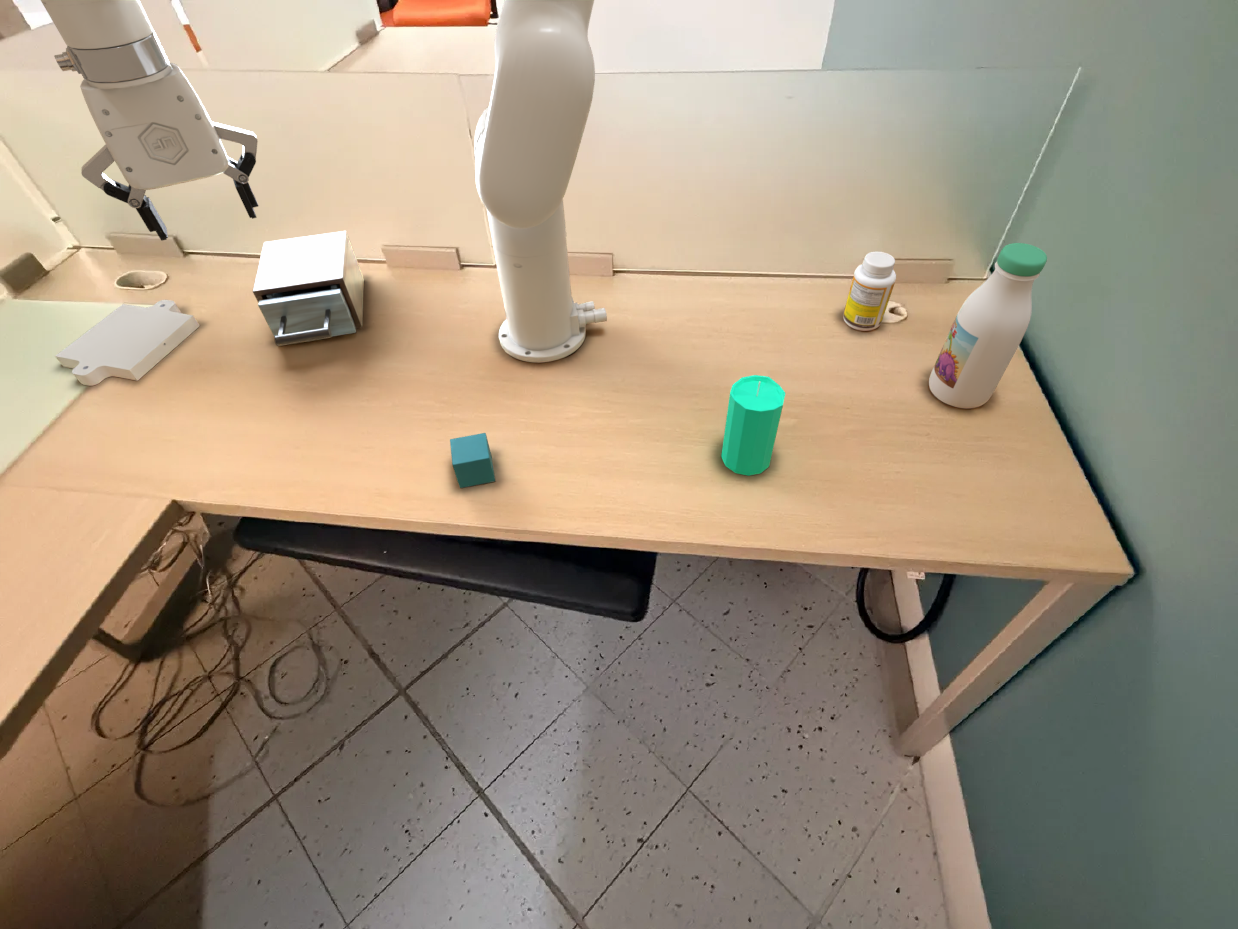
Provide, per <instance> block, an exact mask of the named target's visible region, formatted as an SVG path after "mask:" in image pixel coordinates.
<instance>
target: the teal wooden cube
mask: <svg viewBox="0 0 1238 929" xmlns="http://www.w3.org/2000/svg"><path fill="white" fill-rule="evenodd" d="M449 444H450V445H449V446H450V455H451V465H452V468H453V472H454V474H455V478H456V480H457V484H458V487H459V488H460V489H463V488H468V487H469V488H470V487H474V486H480V485H484V484H490V483H494V482H496V476H495V468H494V463H493V462H494V461H493V456H492V453H491V449H490V448H491V447H490V445H489V440H488V436H487V433H486V432H481V433H476V434H470V435H465V436H459V437H455V438H454V437H453V438H450V439H449Z"/></svg>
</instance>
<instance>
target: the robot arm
mask: <svg viewBox="0 0 1238 929" xmlns="http://www.w3.org/2000/svg"><path fill="white" fill-rule="evenodd" d="M40 2H41V3H42V6H44V9H45V10H46V12H47V14H48V16H49V18H50V19H51V21H52V23H53V24H54V26H55V28H56V30H57V32H58V33H59V35H60V36H61V39H62V40H63V42H64V43H65V45H66V47H65V51H63V52H62V53H60V54H54V55H53V57H54V59H55V61H56V63H57V65H58V67H59V68H60V70H61V71H62V72H68V71H72V72H77V74H78V75H81V76H82V78H83V80H82V81H81V83H80V86H79V87H80V90H81V93H82V96H83V98H84V102H85V104H86V106H87V109H88V111H89V113H90V115H91V118H92V120H93V122H94V124H95V126H96V128H97V130H98V132H99V134H100V136H101V138H102V140H103V142H104V143H105V144H104V145H103V146H102V147H101V148H100V149H99V150H98V151H97V152H96V153H95V154H93V156H91V158H90V159H88V160H87V161H86V162H85V163H84V164H83V165H82V166H81V173H80V174H81V176H82V177H83V178H84V179H86V180H87V181H88V182H90V183H91V184H93V185H94V186H95V187H97V188H98V189H100V190H102V191H103V192H104V194H106V195H107V196H109V197H110V198H111V197H112V198H113V199H116V200H119V201H121V202H123V203H125V204H127V205H128V206H129V207H130V208H132V209H135V210H136V211H137V213H138V215H139V217H140V218H141V220H142V222H143V223H144V225H145V227H146V228H147V230H148V232H150V233H153V232H155V233H156V234H157V236H158V238H159V239H160V241H162V242H163V241H166V240H167V239H169V235H168V229H167V228H168V227H167V226H166V224H165V223H164V221H163V219H162V217H161V216H160V214H159V212H158V210H157V208H156V207H155V205H154V203H153V202H152V200H151V199H150V197H149V196H148V197H147V195H146V191H151V190H152V191H153V190H158V189H163V188H166V187H170V186H171V187H173V186H175V185H179V184H186V183H189V182H194V181H198V180H203V179H207V178H211V177H214V176H218V175H221V174H224V175H225V176H227V177H230V178H231V179H232V181H233V185H234V188H235V189H236V192H237V194H238V196H239V198H240V200H241V202H242V205H243V206H244V209H245V211H246V213H247V215H248V217H249V219H257V213H256V211H255V209H254V208H257V207H259V202H258V200H257V198H256V196H255V193H254V192H253V189H252V187H251V184H250V183H249V180H250V176H251V174H252V171H253V169H254V168H255V166H256V164H257V151H258V142H259V141H258V137H257V135H256V133H255V132H254V131H250V130H247V129H243V128H240V127H235V126H231V125H227V124H223V123H219V122H216V121H213V120H212V119H211V118H210V115H209V113H208V112H207V109H206V107H205V106H204V104H203V103H202V100H201V99H200V97H199V95H198V94H197V92H196V90H195V89H194V87H193V85H192V84H191V83H190V81H189V79H188V77H186V75H185V74H184V72H183V71H182V69H181V68H180V67H179V66H178V64H177V63H173V62H170V61H169V59H168V56H167V55H166V53H165V50H164V48H163V46H162V45H161V42H160V39H159V38H158V36H157V33H156V32H155V30H154V28H153V26H152V24H151V21H150V20H149V18H148V15H147V13H146V11H145V9H144V6H143V5H142V3H141V1H140V0H40ZM594 3H595V0H503V4H502V8H501V10H500V15H499V19H498V22H497V25H496V29H495V34H494V64H495V65H494V66H495V67H494V73H493V74H494V76H493V81H492V87H491V93H490V99H489V105H488V106H487V107H486V108H485V109H484V110H483V112H482V113H481V115H480V116H479V118H478V121H477V123H476V127H475V131H474V140H473V155H474V156H473V157H474V172H475V174H474V175H475V177H474V178H475V185H476V190H477V194H478V196H479V199H480V200H481V203H482V204H483V207H485V209H486V214H487V220H488V225H489V226H488V227H489V232H490V237H491V242H492V243H491V244H492V248H493V254H494V260H495V265H496V270H497V276H498V281H499V286H500V292H501V296H502V303H503V308H504V313H505V319H504V320H503V321H502V323H501V325H500V327H499V329H498V340H499V344H500V346H501V349H503V351H504V352H505V353H506V354H508V355H509V356H511V357H512V358H514V359H516V360H520V361H523V362H528V363H549V362H553V361H558V360H561V359H564V358H566V357H568V356H569V355H571V354H573V353H574V352H576V351H577V350H579V348H580V347H581V346H582V345H583V343H584V341H585V340H586V335H587V332H586V331H587V330H586V327H587V324H597V323H603V322H607V321H608V315H607V310H606V308H605V307H601V308H596V307H595V303H594V301H593V300H592V301H586V302H582V303H578V302H575V301H574V299H573V298H574V297H573V296H572V295H573V294H572V285H571V274H570V264H569V262H570V261H569V251H568V241H567V226H566V216H565V215H566V214H565V205H564V197H565V195H566V192H567V189H568V187H569V183H570V180H571V177H572V174H573V170H574V167H575V163H576V161H577V160H576V159H577V156H578V152H579V150H580V146H581V143H582V140H583V135H584V132H585V128H586V125H587V121H588V118H589V115H590V110H591V107H592V102H593V98H594V92H595V82H596V67H595V58H594V55H593V54H594V53H593V50H592V47H591V45H590V41H589V37H588V35H589V27H590V22H591V17H592V12H593V8H594ZM222 140H224V141H229V142H233V143H238V144H240V145H242V152H241V154H240V157H239V159H238V160H235V159H234V158H231V157H229V156H228V155H227V152H226V149H225V147H224V144H223V142H222ZM114 162H115V164H116V166H117V168H118V170H119V171H120V173H121V175H122V176H123V178H124V180H125V181H126V183H127V184H128V185H125V184H123V183H121V182H119V181H116V180H114V179H111V178H110V177H108V176H107V174H105V173H104V172H105V171H106V170H107V169H108V168H109V167H110V166H111V165H112V164H113V163H114Z"/></svg>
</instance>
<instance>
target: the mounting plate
mask: <svg viewBox="0 0 1238 929" xmlns="http://www.w3.org/2000/svg"><path fill="white" fill-rule="evenodd" d="M200 326H201V325H200V323H199V322H198V320H197V319H196V317H195V315H194V314H187V313H182V312H181V309H180V308H179V307H178V304H177V303H176V302H175V301H174V300H172V299H161V300H158V301H157V302H156V303H154V304H153V305H151V306H147V307H145V306H139V305H132V304H128V303H127V304H126V303H122V304H120V306H117V308H116V309H114V310H113V311H112V312H110V313H109V314H107V315H106V316H105V317H103V318H102V319H101V320H99V321H98V322H97V323H96V324H95V325H93V326H92V327H91V328H89V329H88V330H87V331H86V332H84V333H83V334H81V335H80V336H79V337H77V338H76V339H74V341H72V342H71V343H70V344H68V345H67V346H65V348H63V349H62V350H60V351H59V352H57V354H55V355H54V357H55V359H56V360H57V361H58V362H59V363H60V365H61V366H62V367H63V368H69V369H72V370H71V374H72V375H73V376H74V377H75V378H76V379H77V380H78V382H79V383H80V384H81V385H82V386H83V385H84V386H88V387H92V386H96V385H99V384H100V383H101V382H103V381H104V380H105V379H107V378H109V377H116V378H120V379H121V378H122V379H125V380H132V381H137V382H138V381H139V380H140V379H142V377H144V376H145V375H146V374H147V373H149V372H150V371H151V370H152V369H153V368H154V367H155V366H156V365H157V364H158V363H160V362H161V361H162V360H163V359H164V358H165V357H166V356H168V355H169V354H170V353H171V352H172V351H173V350H174V349H175V348H177V347H178V346H179V345H180V344H181V343H182V342H183V341H185V340H186V339H187V338H188V337H189V336H190V335H192V334H193V333H194V332H195V331H196V330H197V329H198V328H200Z"/></svg>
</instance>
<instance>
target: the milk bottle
mask: <svg viewBox="0 0 1238 929" xmlns="http://www.w3.org/2000/svg"><path fill="white" fill-rule="evenodd" d="M1047 260H1048V256H1047V253H1046V252H1045V251H1044V250H1042V249H1041V248H1039V247H1038V246H1036V245H1033V244H1030V243H1024V242H1013V243H1008V244H1005V245H1004V246H1003V247H1002V249H1001V250H1000V252H999V254H998V257H997V260H996V262H995V263H994V271H992V273H991V274H990V276H989V277H988V278H987V279H986V280H985V281H984V282H983V283H982V284H980V285H979V286H978V287H977V288H975V289H974V290H973V291H972V292H971V294H969V295H968V296H967V298H966V299H965V301H964V302H963V303H962V305H961V307H960V308H959V310H958V312H957V314H956V316H955V318H954V320H953V322H952V325H951V327H950V329H949V332H948V334H947V336H946V338H945V341H944V342H943V345H942V347H941V349H940V351H939V354H938V356H937V359H936V361H935V363H934V365H933V368H932V370H931V373H930V375H929V378H928V386H929V390H930V392H931V394H932V395H933V396H934V397H935V398H937V399H938V400H939V401H941V402H943V403H944V404H946V405H949V406H951V407H955V408H958V409H976V408H979V407H981V406H983V405H985V404H986V403H988V401H989V400H990V399H991V397H992V395H993V394H994V392H995V390H996V388H997V387H998V385H999V383H1000V382H1001V380H1002V378H1003V376H1004V374H1005V372H1006V370H1007V369H1008V367H1009V365H1010V363H1011V361H1012V359H1013V357H1014V356H1015V353H1016V352H1017V350H1018V348H1019V346H1020V344H1021V342H1022V340H1023V338H1024V336H1025V334H1026V332H1027V330H1028V327H1029V325H1030V322H1031V318H1032V312H1033V310H1032V309H1033V308H1032V306H1033V305H1032V292H1033V285H1034V282H1035V280H1036V279H1038V278H1039V277H1040V276H1041V272H1042V271H1043V270H1044V268H1045V266H1046V263H1047Z"/></svg>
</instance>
